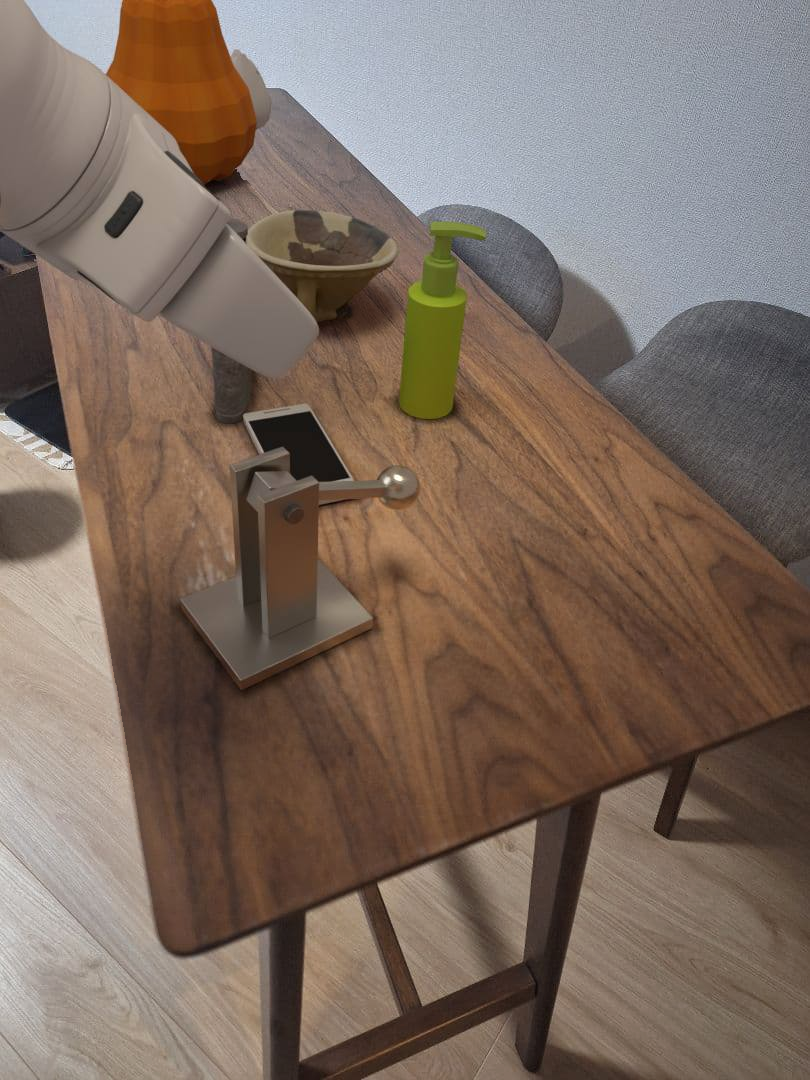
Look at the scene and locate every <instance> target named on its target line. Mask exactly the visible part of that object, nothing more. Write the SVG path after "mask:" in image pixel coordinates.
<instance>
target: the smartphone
mask: <svg viewBox="0 0 810 1080" xmlns="http://www.w3.org/2000/svg"><path fill="white" fill-rule="evenodd" d="M242 421H243V425H244V427H245V430H246V431H247V433H248V435H249V437H250V439H251V441H252V443H253V445H254V447H255V449H256V451H257V453H258V455H259V454H262V453H265V452H268V451H271V450H274V449H277V448H280V447H284V448H285V449H286V450H287V451H288V452H289V453H290V474H291V475H292V477H293V478H294V479H295V480H296V481H298V480H301V479H303V478H306V477H309V476H313V477H314V478H315V479H316V480H317V481H318V482H335V481H355V479H354V477H353V475H352V474H351V472H350V470H349V468H348V467H347V465H346V464H345V462H344V461H343V459H342V457H341V455H340V454H339V452H338V450H337V449H336V447H335V446H334V444H333V442H332V440H331V438H329V435H328V434H327V432H326V430H325V429H324V427H323V426H322V424H321V422H320V421H319V419H318V417H317V416H316V413H315V412H314V411H313V409H312V408H311V406H310V405H309V404H308V403H300V404H294V405H293V404H292V405H288V406H281V407H275V408H270V409H263V410H256V411H252V412H251V411H250V412H246V413H245V414H243V419H242ZM345 500H346V499H342V500H324V501H319V506H321V505H325V504H329V503H336V502H340V501H345Z"/></svg>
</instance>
